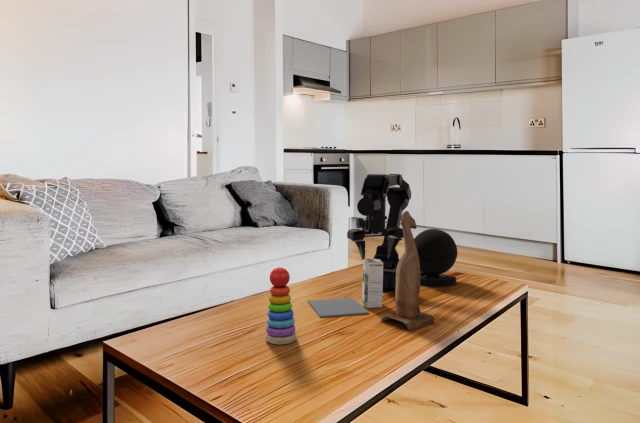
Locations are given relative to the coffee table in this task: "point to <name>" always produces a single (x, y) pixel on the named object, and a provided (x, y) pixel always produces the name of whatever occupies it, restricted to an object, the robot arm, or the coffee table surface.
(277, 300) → the stacking toy
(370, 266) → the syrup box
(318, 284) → the coffee table surface
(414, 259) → the bird sculpture
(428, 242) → the webcam
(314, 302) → the mat
